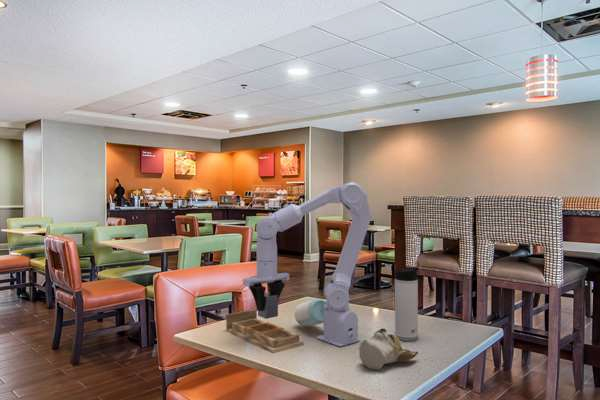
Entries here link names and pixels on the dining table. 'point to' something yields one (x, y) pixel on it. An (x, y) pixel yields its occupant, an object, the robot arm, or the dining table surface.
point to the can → (310, 312)
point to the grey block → (269, 306)
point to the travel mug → (406, 304)
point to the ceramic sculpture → (383, 350)
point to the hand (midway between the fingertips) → (266, 309)
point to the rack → (260, 331)
